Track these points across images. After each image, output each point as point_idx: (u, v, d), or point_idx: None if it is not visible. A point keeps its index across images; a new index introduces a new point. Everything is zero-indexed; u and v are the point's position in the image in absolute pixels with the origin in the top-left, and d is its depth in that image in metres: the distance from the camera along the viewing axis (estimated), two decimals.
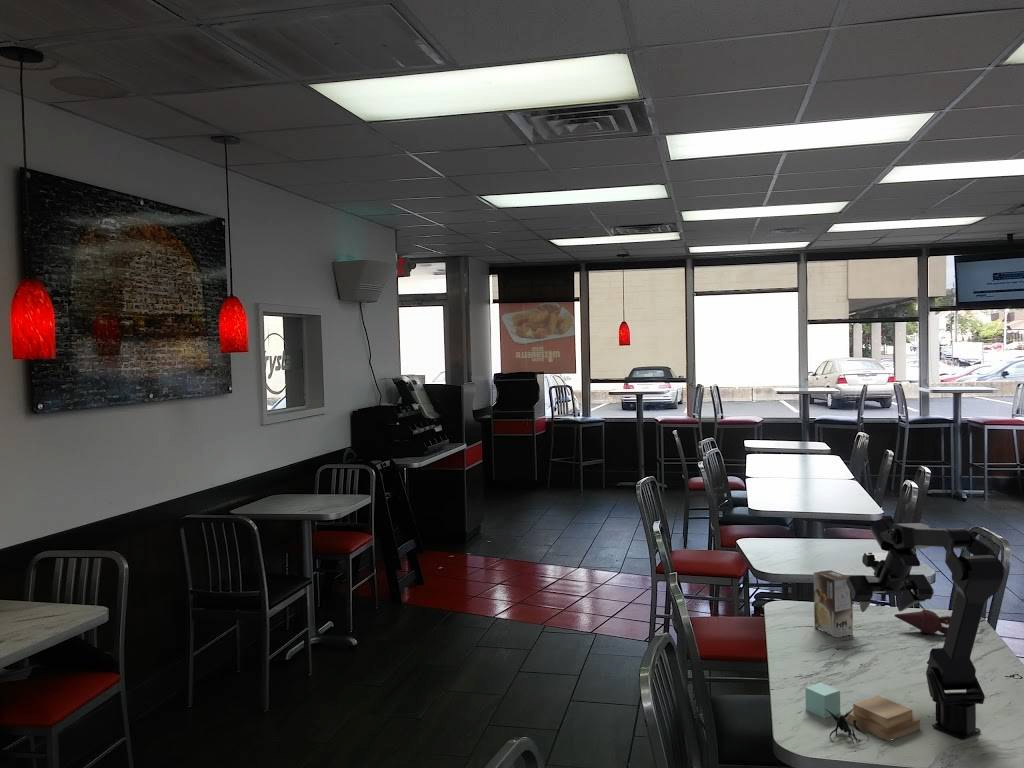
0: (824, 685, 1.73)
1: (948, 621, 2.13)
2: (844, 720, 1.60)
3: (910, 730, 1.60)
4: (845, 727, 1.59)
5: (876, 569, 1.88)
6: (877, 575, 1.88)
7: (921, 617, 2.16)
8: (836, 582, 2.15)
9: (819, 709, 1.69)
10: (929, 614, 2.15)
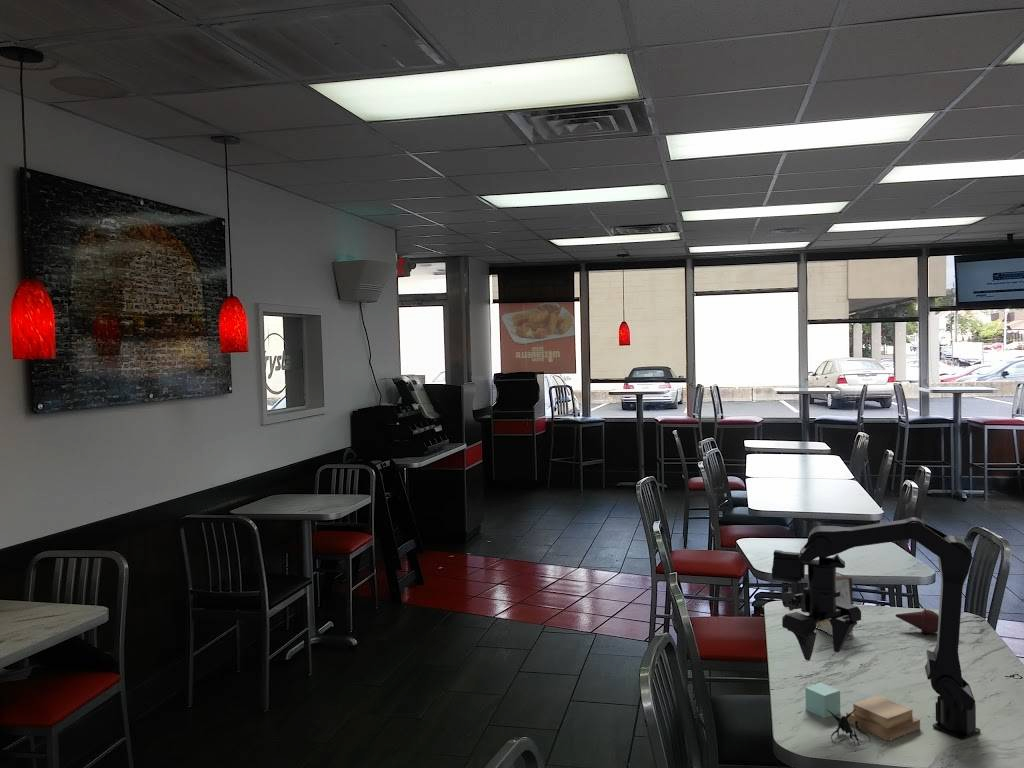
0: (824, 685, 1.73)
1: None
2: (846, 721, 1.59)
3: (910, 730, 1.60)
4: (847, 728, 1.58)
5: (802, 602, 1.72)
6: (806, 608, 1.71)
7: (922, 617, 2.16)
8: (836, 582, 2.15)
9: (819, 709, 1.69)
10: (929, 614, 2.15)
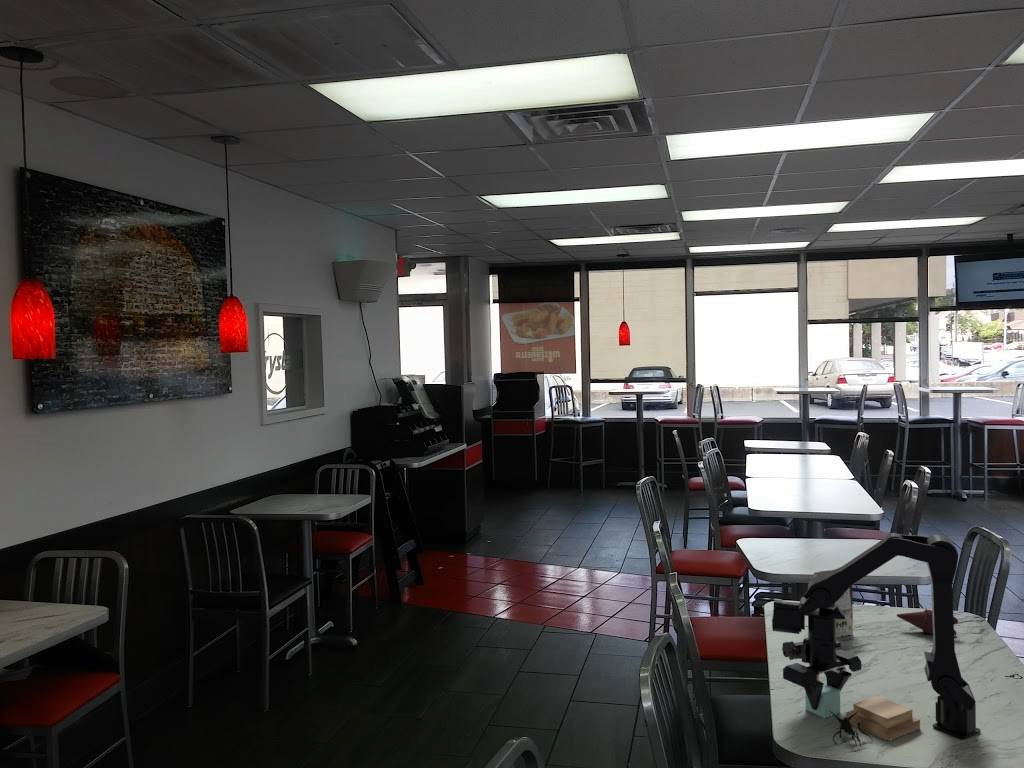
0: (824, 685, 1.73)
1: None
2: (848, 722, 1.59)
3: (910, 730, 1.60)
4: (849, 729, 1.58)
5: (803, 652, 1.72)
6: (806, 659, 1.71)
7: (923, 617, 2.16)
8: None
9: (819, 709, 1.69)
10: (931, 614, 2.15)
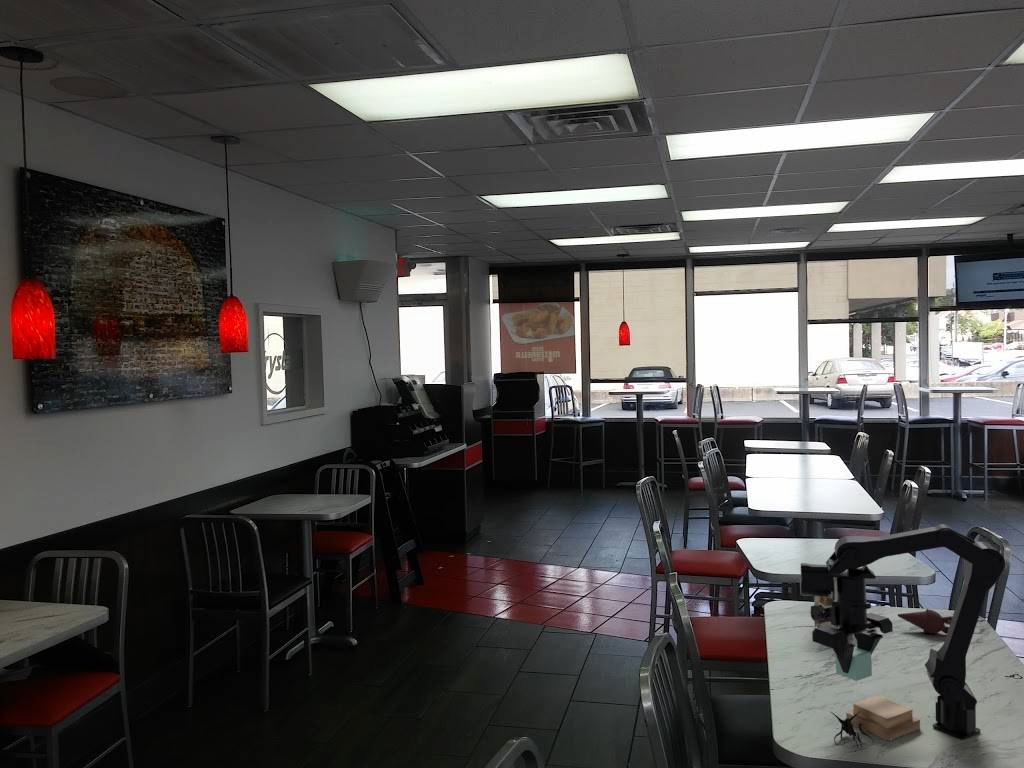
0: (854, 648, 1.69)
1: None
2: (849, 723, 1.58)
3: (910, 730, 1.60)
4: (850, 730, 1.57)
5: (832, 615, 1.68)
6: (836, 621, 1.67)
7: (924, 617, 2.16)
8: (836, 582, 2.15)
9: (850, 671, 1.65)
10: (931, 614, 2.15)
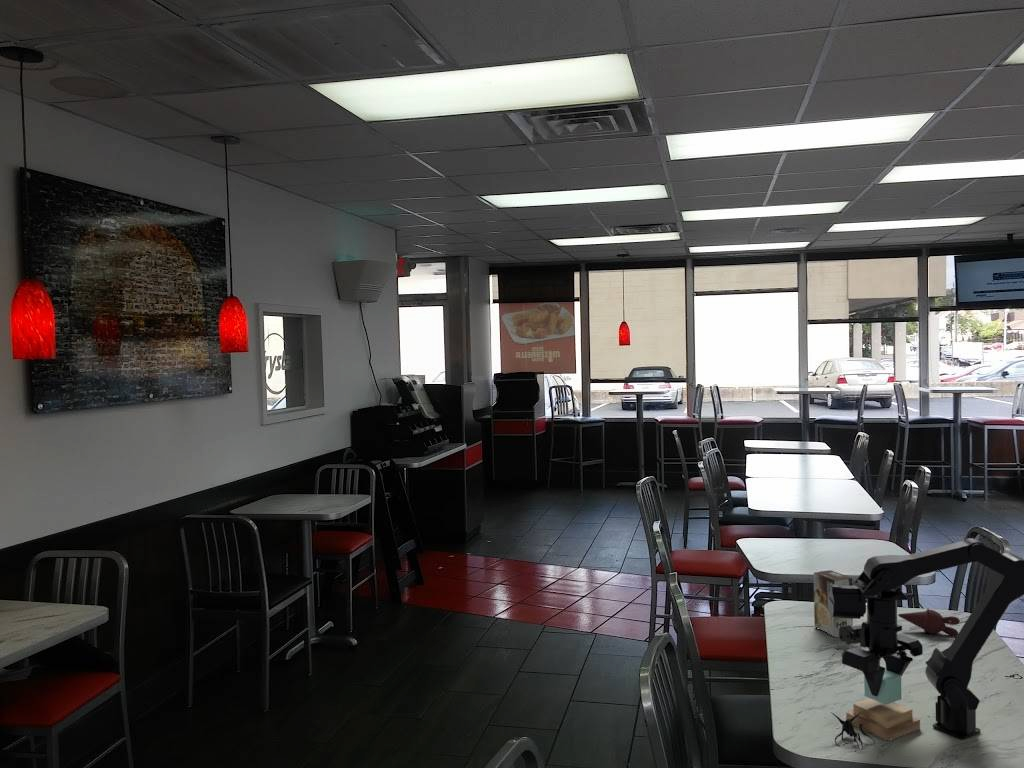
0: None
1: (952, 621, 2.13)
2: (850, 724, 1.58)
3: (910, 730, 1.60)
4: (851, 731, 1.57)
5: (862, 637, 1.64)
6: (866, 643, 1.64)
7: (924, 617, 2.16)
8: (836, 582, 2.15)
9: (880, 695, 1.61)
10: (932, 614, 2.15)
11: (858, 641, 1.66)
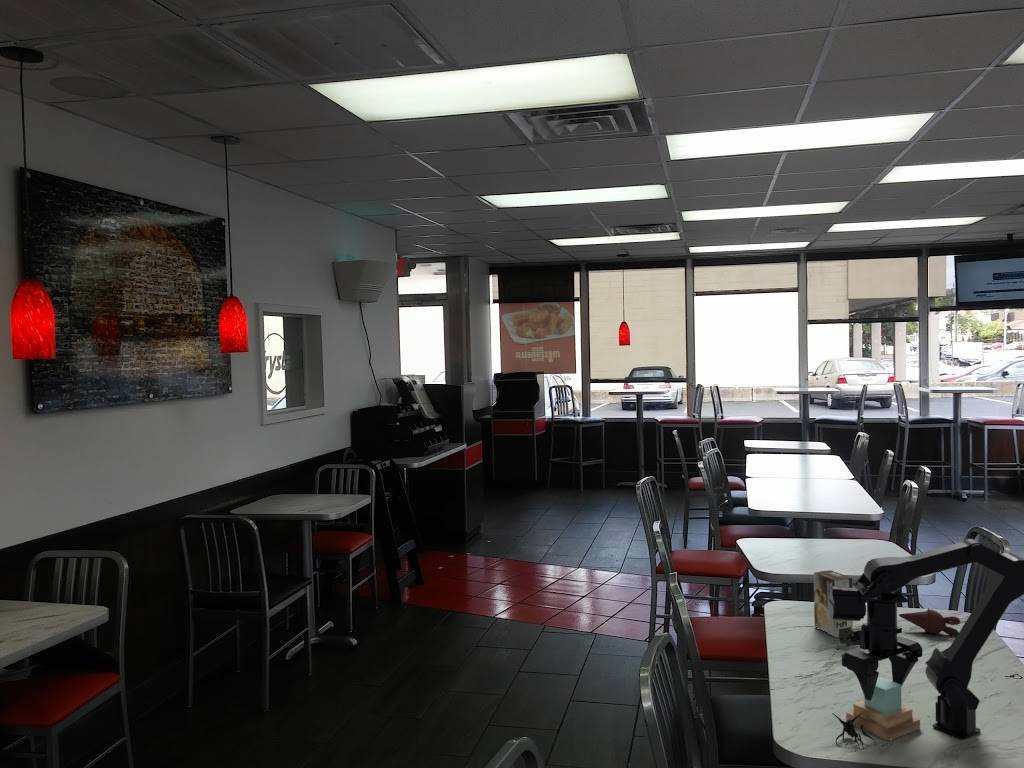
0: (883, 679, 1.65)
1: (952, 621, 2.13)
2: (851, 725, 1.58)
3: (910, 730, 1.60)
4: (852, 732, 1.57)
5: (861, 639, 1.64)
6: (865, 645, 1.64)
7: (925, 617, 2.16)
8: (836, 582, 2.15)
9: (880, 704, 1.61)
10: (933, 614, 2.15)
11: (858, 643, 1.66)
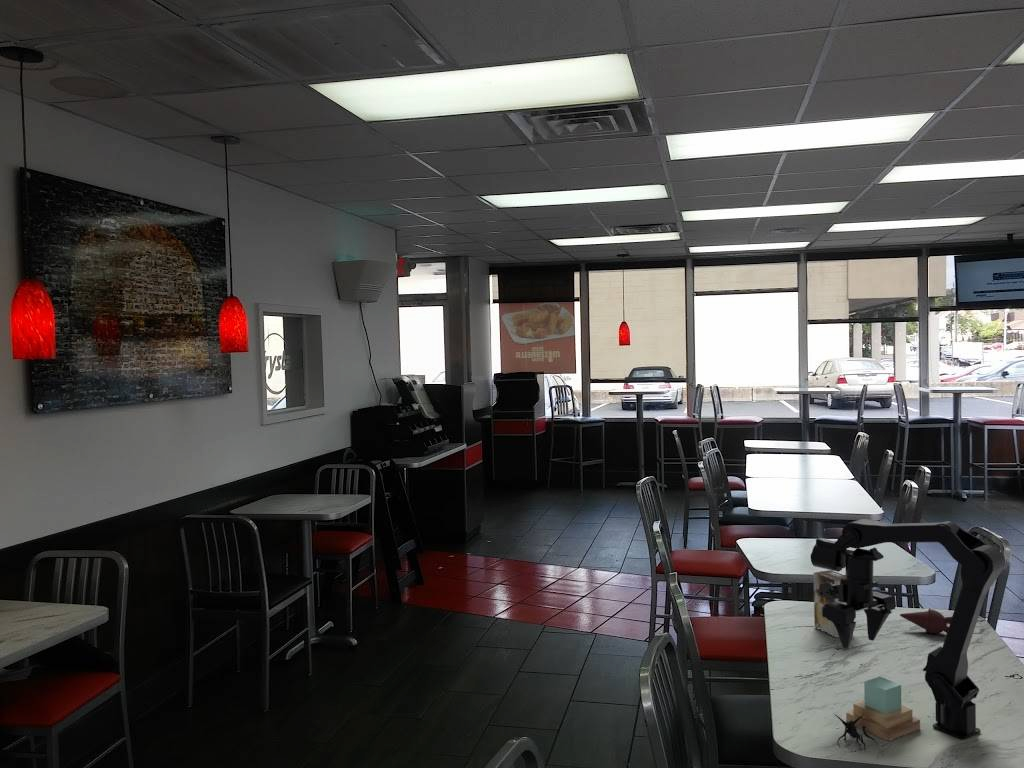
0: (883, 679, 1.65)
1: None
2: (853, 726, 1.57)
3: (910, 730, 1.60)
4: (854, 733, 1.56)
5: (840, 592, 1.77)
6: (844, 598, 1.76)
7: (926, 617, 2.16)
8: (836, 582, 2.15)
9: (880, 704, 1.61)
10: (934, 614, 2.15)
11: (837, 597, 1.78)
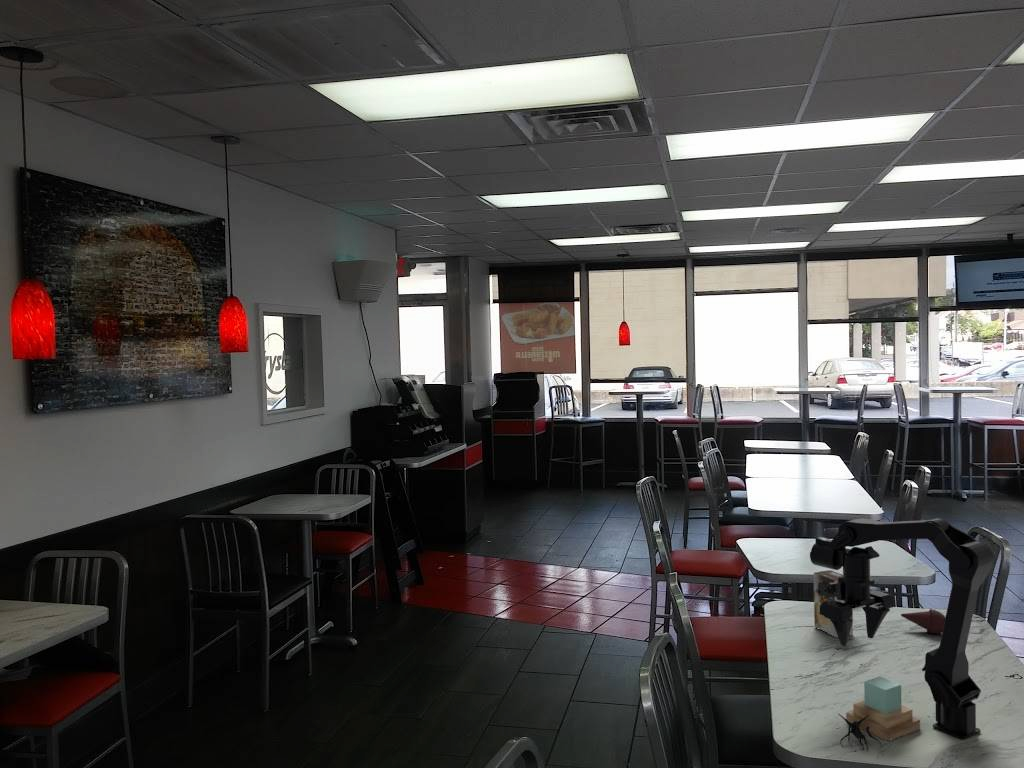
0: (883, 679, 1.65)
1: None
2: (857, 726, 1.57)
3: (910, 730, 1.60)
4: (857, 733, 1.56)
5: (838, 590, 1.80)
6: (841, 596, 1.79)
7: (927, 617, 2.16)
8: None
9: (880, 704, 1.61)
10: (935, 614, 2.15)
11: (835, 595, 1.81)
